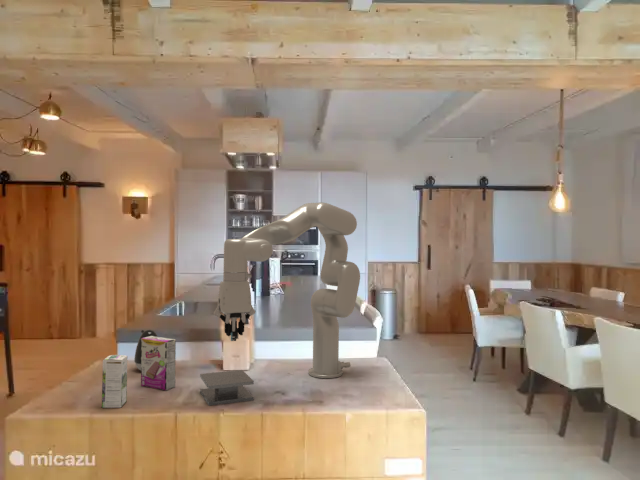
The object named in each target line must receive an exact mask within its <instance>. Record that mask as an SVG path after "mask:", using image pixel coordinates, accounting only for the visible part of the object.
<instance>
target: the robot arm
mask: <svg viewBox="0 0 640 480" xmlns="http://www.w3.org/2000/svg"><path fill="white" fill-rule="evenodd" d="M357 223H358V221H357V218H356V216H355V215H354V214H353V213H352V212H351V211H348V210H346V209H344V208H340V207H338V206H335V205H333V204H331V203H327V202H307V203H304V204H302V205H300V206H299V207H297V208H296V209H293V211H291V212H289V213H288V214H286V215H284V216H283V217H281V218H280V219H278V220H275V221H273V222H270V223H268V224H266V225H263V226H261V227H258V228H257V229H256V228H255V230H253V231H251V232H249V233H247V234H246V235H244V236H243V237H241V238H228V239H227V238H226V239H225V241H224V242H223V279H222V280H223V281H220V284H219V289H218V295H217V297H218V298H217V306H216V307H215V310H214V311H213V315H214V316H216V317H217V318H219V319H220V320H222V322H223V323H224V334H226V336H227V337H231V321H230V320H231V319H230V314H232V313H241V317H240V318H239V321H237V328H239V332H238V335H240V336H243V335H244V332H245V323H246V321H247V320H248V319H250V317H252V316H253V315H255V314H256V310H255V309H254V306H253V305H252V296H251V295H252V293H251V284H250V281H249V280H248V279H252V277H253V276H252V275H253V274H252V273H249V272H248V262H258V263H259V262H260V263H261V262H265V261H267V260H269V259H270V258H271V257H272V255H273V252H274V250H273V246H275V245H280V244H287V243H288V242H292V241H294V240H296V239H297V238H299V237H300V236H301V235H303V234H304V233H306V232H307V231H309V230H310V229H312V228H315V227H317V229H318V231H319V232H320V234H321V236H322V237H323V240H324V243H325V250H324V255H323V260H322V264H321V269H320V280H321V282H322V283H323V284H324V285H327V286H332V287H336V289H331V288H319V289H316V290H315V291H314V292H313V294H312V295H311V298H310V308H311V312H312V325H313V326H312V368H311V367H310V369H308V375H309V376H310V377H313V378H316V379H317V378H318V379H319V378H320V379H334V378H335V379H336V378H338V377H341V376H342V375H343V369H346V368H347V369H348V368H351V365H352V364H351V362H350V361H348V362H344V361H340V360H339V353H340V352H339V350H340V349H339V348H340V347H339V346H340V345H339V344H340V343H339V340H340V339H339V338H340V337H339V336H340V326H339V320H338V318H341V319H343V318H344V319H345V318H348V317H350V315H352V313H353V311H354V309H355V306H356V302H357V297H358V293H359V286H360V283H361V281H360V280H361V271H360V269H359V266H358V265H357V264H356V263H355V262H353V261H349V260H347V259H348V251H349V246H348V242H347V239H346V238H345V236H349V235H352V234H353V233H354V232H355V231H356V229H357V225H358V224H357Z"/></svg>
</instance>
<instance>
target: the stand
mask: <svg viewBox="0 0 640 480" xmlns="http://www.w3.org/2000/svg"><path fill="white" fill-rule="evenodd" d="M199 377H200V379H201V380H202V382H203V383H204V385H205V386H206V388H200V389H199V393H200V395H201V397H202V398H203V399H204V401H205V402H206V404H207V406H209V407H210V406H219V405H225V404H232V403H233V404H234V403H240V402H241V403H242V402H249V401H254V398H255V397H254V395H252V394H251V392H250V391H248V389H247V388H246V387H245V386H250V385H251V386H253V385H254V380H253V379H252V378H251V376H249V375H248V374H247V373H246V372H245V371H244V370H243V369H237V370H229V371H228V370H227V371H226V370H225V371H218V372H207V373H200V375H199Z"/></svg>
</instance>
